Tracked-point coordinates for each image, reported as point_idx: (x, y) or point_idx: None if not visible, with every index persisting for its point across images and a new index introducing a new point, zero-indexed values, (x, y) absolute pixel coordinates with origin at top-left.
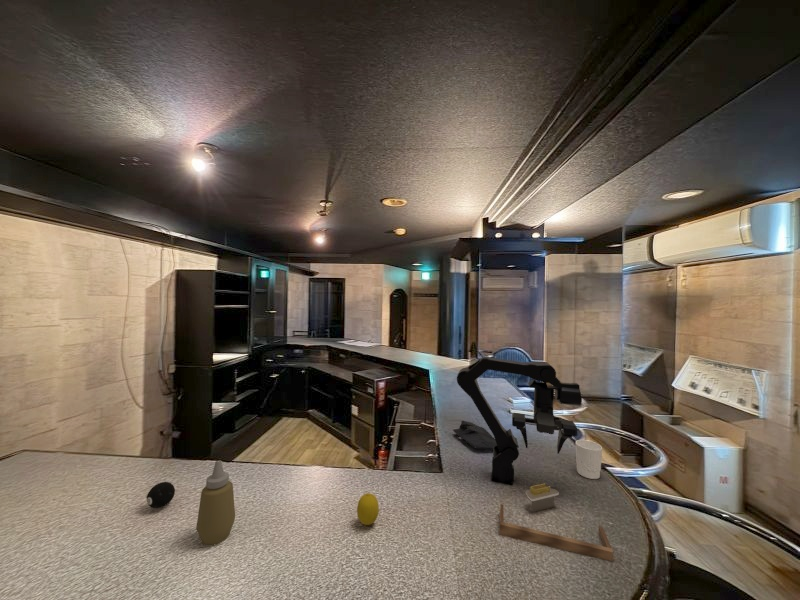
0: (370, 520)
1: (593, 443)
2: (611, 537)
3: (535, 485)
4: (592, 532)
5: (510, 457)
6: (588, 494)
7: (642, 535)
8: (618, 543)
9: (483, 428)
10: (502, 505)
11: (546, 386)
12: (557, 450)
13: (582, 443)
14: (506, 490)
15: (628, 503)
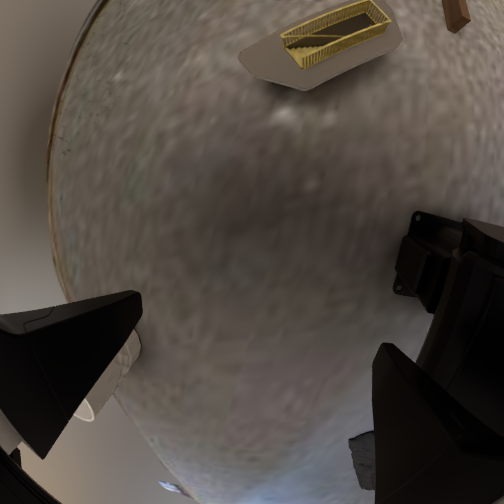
0: None
1: None
2: (144, 17)
3: (362, 30)
4: (184, 10)
5: (497, 233)
6: (127, 213)
7: (77, 67)
8: (139, 6)
9: (367, 487)
10: (464, 12)
11: None
12: (129, 309)
13: (86, 410)
14: (440, 167)
15: (57, 198)
